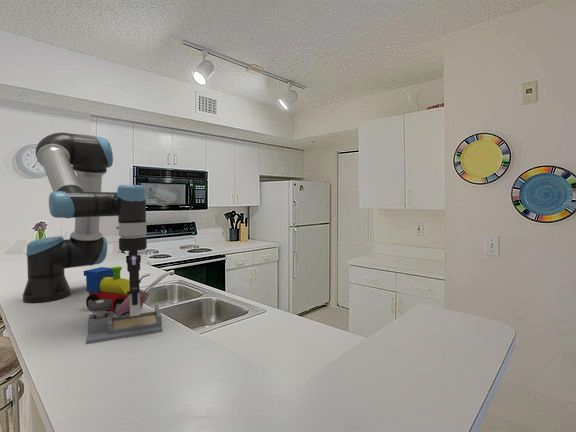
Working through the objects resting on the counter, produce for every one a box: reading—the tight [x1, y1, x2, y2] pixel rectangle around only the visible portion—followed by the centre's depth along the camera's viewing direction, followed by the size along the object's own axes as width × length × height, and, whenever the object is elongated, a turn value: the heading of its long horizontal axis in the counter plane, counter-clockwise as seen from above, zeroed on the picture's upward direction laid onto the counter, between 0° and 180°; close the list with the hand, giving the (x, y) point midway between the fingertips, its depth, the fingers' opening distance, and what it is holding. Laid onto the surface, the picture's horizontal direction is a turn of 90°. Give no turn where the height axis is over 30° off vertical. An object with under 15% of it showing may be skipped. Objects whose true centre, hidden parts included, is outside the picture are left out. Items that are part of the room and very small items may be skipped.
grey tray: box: [85, 304, 163, 345], centre depth 99 cm, size 16×19×4 cm
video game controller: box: [114, 290, 150, 316], centre depth 99 cm, size 10×5×7 cm, turn 170°
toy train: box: [83, 266, 144, 316], centre depth 115 cm, size 9×20×15 cm, turn 70°
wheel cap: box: [87, 299, 112, 318], centre depth 96 cm, size 6×6×6 cm
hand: (134, 309), depth 100 cm, fingers closed on video game controller, 10 cm apart
